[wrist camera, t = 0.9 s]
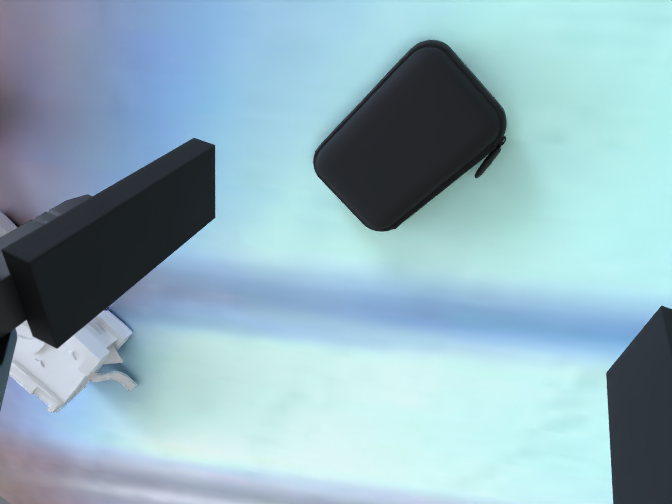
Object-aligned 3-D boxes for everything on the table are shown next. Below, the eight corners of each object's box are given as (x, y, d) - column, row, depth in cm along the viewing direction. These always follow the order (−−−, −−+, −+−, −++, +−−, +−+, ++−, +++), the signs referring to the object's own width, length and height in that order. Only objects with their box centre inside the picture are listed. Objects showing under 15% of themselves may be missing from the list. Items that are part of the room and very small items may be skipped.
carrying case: (391, 241, 44) (528, 133, 37) (383, 256, 42) (529, 142, 34) (311, 156, 43) (434, 26, 35) (297, 166, 41) (428, 27, 33)
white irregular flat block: (111, 412, 72) (71, 451, 65) (-35, 282, 69) (-91, 311, 63) (167, 352, 62) (127, 393, 55) (-1, 198, 59) (-64, 222, 53)
